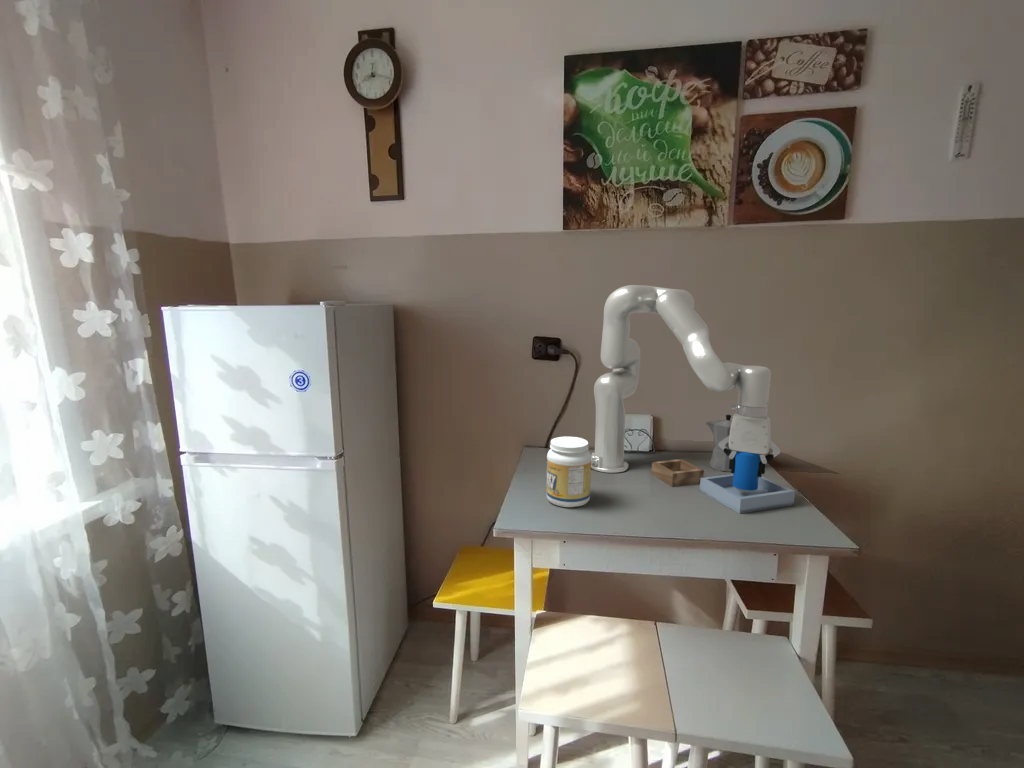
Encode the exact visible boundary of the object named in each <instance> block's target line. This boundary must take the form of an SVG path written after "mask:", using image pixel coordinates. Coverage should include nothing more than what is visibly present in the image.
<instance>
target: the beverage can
mask: <svg viewBox="0 0 1024 768" xmlns="http://www.w3.org/2000/svg"><path fill="white" fill-rule="evenodd" d="M760 461H761V458H760V455H759V454H753V453H748V452H736V454H735V466H734V473H732V474H733V484H732V485H733V486H734V487H735V488H736V489H737V490H739V491H742V492H753V491H755V490H757V489H758V480H759V466H760Z"/></svg>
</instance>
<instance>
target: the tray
mask: <svg viewBox="0 0 1024 768" xmlns="http://www.w3.org/2000/svg"><path fill="white" fill-rule="evenodd" d="M732 484H733V473H729V474H722V475H716V476H714V475H713V476H706V477H703V478H701V479H700V483H699V492H700V493H702V494H703V495H705V496H707V497H709V498H711V499H712V500H714V501H716V502H718V503H720V504H721V505H724V506H725V507H727V508H729V509H731V511H734V512H736V513H738V514H739V513H740V514H747V513H752V512H758V511H765V510H770V509H771V510H772V509H776V508H777V509H778V508H782V507H783V508H784V507H790V506H794V504H795V497H796V496H795V495H796V491H795V490H793V489H791V488H789V487H787V486H784V485H783V484H780V483H778V482H776V481H773V480H771V479H769V478H766V477H764V476H761V477H759V480H758V489H757V490H755V491H753V492H742V491H739V490H737V489H736V488H735V487H734V486H733V485H732Z"/></svg>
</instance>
